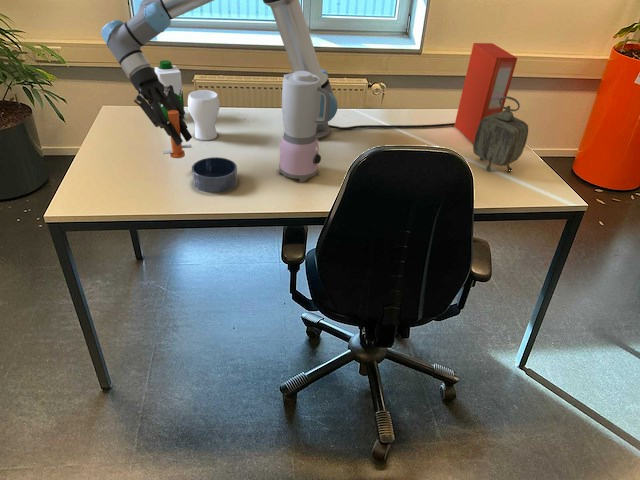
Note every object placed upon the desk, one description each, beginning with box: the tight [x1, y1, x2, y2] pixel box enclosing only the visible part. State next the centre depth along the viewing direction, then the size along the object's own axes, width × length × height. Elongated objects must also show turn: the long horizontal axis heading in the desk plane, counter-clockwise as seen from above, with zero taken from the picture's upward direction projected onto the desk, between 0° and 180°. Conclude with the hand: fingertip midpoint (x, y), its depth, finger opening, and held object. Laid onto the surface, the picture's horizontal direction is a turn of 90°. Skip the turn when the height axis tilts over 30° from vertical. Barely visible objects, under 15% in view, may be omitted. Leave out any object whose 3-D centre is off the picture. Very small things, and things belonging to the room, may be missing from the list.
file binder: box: [453, 42, 518, 145], centre depth 191 cm, size 8×17×32 cm, turn 13°
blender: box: [278, 71, 330, 183], centre depth 158 cm, size 16×12×32 cm
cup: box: [187, 89, 221, 141], centre depth 182 cm, size 11×11×15 cm
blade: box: [161, 110, 193, 159], centre depth 157 cm, size 9×4×14 cm, turn 113°
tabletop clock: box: [472, 95, 529, 173], centre depth 171 cm, size 14×9×25 cm, turn 44°
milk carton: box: [154, 60, 185, 122], centre depth 192 cm, size 9×9×20 cm
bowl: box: [191, 156, 239, 194], centre depth 158 cm, size 13×13×6 cm
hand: (184, 141), depth 156 cm, fingers closed on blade, 3 cm apart
